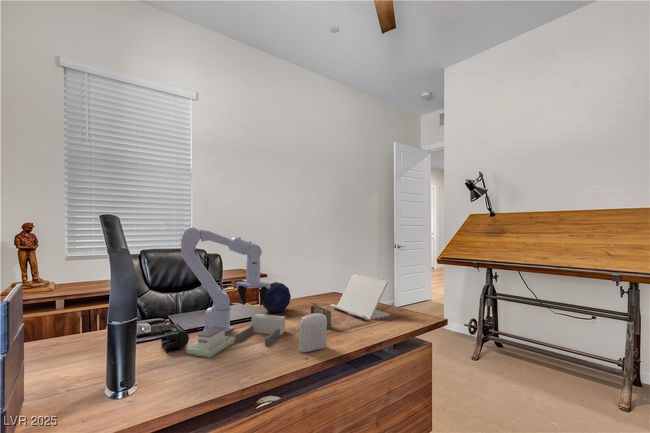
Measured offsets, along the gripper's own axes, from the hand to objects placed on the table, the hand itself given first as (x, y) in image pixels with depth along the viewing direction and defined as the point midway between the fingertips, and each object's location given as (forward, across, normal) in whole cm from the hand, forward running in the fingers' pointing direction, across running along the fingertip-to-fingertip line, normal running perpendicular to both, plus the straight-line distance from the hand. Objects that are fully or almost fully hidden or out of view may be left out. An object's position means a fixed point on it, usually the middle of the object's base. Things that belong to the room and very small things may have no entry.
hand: (252, 304), depth 139 cm
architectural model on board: (+10, +28, +8) cm, 31 cm away
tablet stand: (+10, +44, +32) cm, 55 cm away
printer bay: (+9, +8, -10) cm, 16 cm away
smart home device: (+10, -34, -12) cm, 37 cm away
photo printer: (+10, +29, -19) cm, 36 cm away
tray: (+9, -6, -24) cm, 27 cm away
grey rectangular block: (+9, -6, -24) cm, 26 cm away
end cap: (+10, -19, -26) cm, 33 cm away
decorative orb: (+10, +3, +25) cm, 27 cm away
